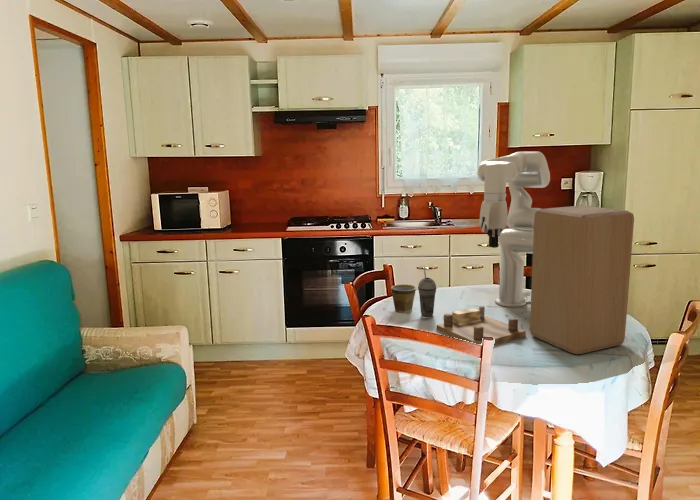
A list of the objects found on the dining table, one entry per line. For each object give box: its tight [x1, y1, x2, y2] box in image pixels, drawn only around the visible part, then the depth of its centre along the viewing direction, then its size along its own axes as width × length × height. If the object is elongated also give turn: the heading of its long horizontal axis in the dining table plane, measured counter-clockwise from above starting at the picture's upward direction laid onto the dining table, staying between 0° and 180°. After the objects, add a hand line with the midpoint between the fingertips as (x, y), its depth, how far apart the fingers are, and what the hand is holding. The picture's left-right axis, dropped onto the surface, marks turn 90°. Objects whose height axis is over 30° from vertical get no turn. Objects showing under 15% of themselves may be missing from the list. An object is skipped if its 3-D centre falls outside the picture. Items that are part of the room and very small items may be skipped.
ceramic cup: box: [390, 284, 417, 314], centre depth 223 cm, size 13×10×10 cm
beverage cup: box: [417, 266, 438, 319], centre depth 213 cm, size 7×7×20 cm
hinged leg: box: [451, 308, 480, 323], centre depth 202 cm, size 10×3×3 cm, turn 113°
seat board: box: [435, 305, 527, 345], centre depth 194 cm, size 22×22×6 cm
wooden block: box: [529, 204, 635, 355], centre depth 181 cm, size 22×22×45 cm
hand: (493, 246), depth 201 cm, fingers closed
